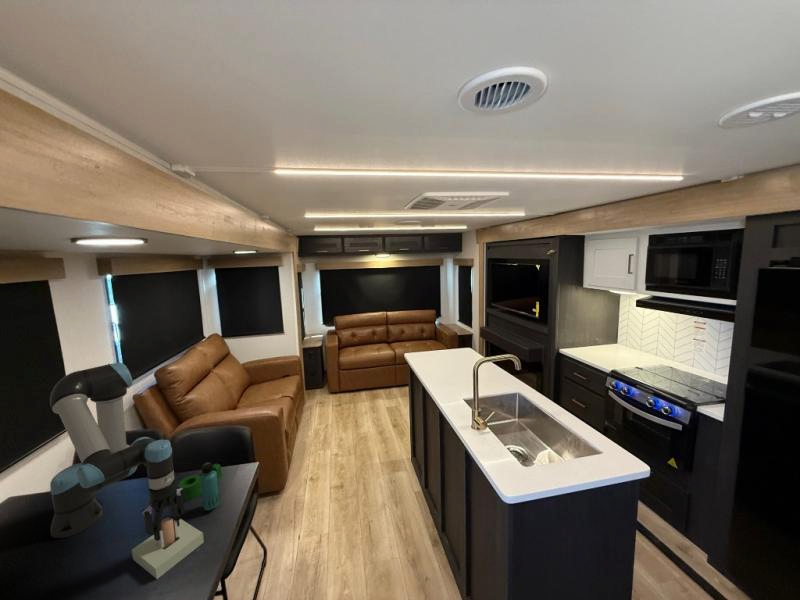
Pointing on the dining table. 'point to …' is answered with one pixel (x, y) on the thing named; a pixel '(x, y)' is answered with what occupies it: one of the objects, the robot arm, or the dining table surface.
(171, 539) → the peg
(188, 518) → the dining table surface
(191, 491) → the slotted cylinder bracket
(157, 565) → the socket board
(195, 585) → the dining table surface
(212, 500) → the beverage bottle
